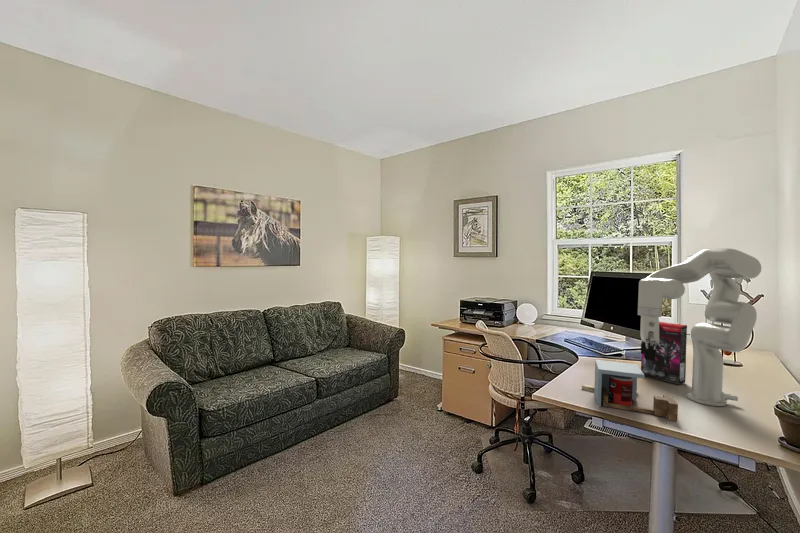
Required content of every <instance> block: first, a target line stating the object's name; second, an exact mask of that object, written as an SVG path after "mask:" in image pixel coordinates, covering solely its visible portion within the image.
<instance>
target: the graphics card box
mask: <svg viewBox="0 0 800 533" xmlns="http://www.w3.org/2000/svg"><path fill="white" fill-rule="evenodd" d="M687 335H688V326H687V324H679V323H671V322H665V321H659V343H658V344H657V343H656V342H655V350H656V353H655V360H646V359H645V354H641V353H640V354H641V358H640V361H641V362H640V369H641V371H642V372H643V373H644V377H648V378H651V379H656V380H660V381H663V382H667V383H672V384H675V385H682V384H685V383H686V376H687V375H686V374H687V373H686V370H687V369H686V368H687V366H686V365H687V338H688V336H687Z"/></svg>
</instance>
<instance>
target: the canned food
mask: <svg viewBox="0 0 800 533" xmlns="http://www.w3.org/2000/svg"><path fill="white" fill-rule="evenodd" d="M632 390H633V378H632V377H626V376H618V375H610V376H609V397H608V403H613V404H620V405H626V406H633V400H632Z"/></svg>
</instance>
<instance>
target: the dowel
mask: <svg viewBox="0 0 800 533" xmlns="http://www.w3.org/2000/svg"><path fill="white" fill-rule="evenodd" d="M594 387H595V386H593V385H589V384H584V383H583V384H582V385H581V390H584V391H588V392H593V393H594Z"/></svg>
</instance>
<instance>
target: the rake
mask: <svg viewBox="0 0 800 533" xmlns="http://www.w3.org/2000/svg"><path fill="white" fill-rule="evenodd" d="M652 403H653V404H652V409H651V408H645V407H639V406H633V405H631V406H626V405H620V404H613V403H610V402H609V397H608V394H607V391H606V388H605V387H601V404H602V406H603V407H608V408H613V409H621V410H627V411H634V412H640V413H646V414H652V415H653V414H654V415H655V416H659V417H664V418H667V419H668V420H669V421H673V422H678V416H679V415H678V414H679V413H678V412H679V404H678V403H677V401H676V400H675V399H674V398H673V396H672V395H667V394H662V396H657V395H653V402H652Z"/></svg>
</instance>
